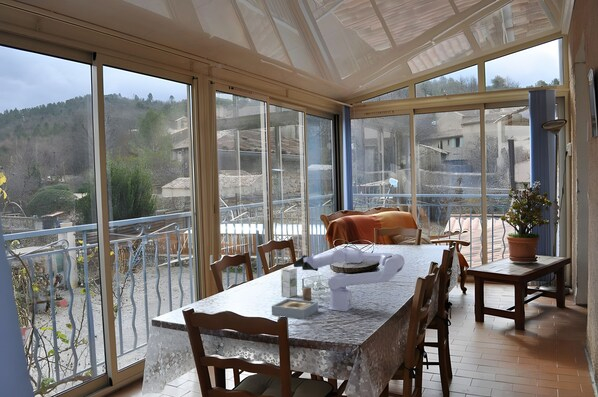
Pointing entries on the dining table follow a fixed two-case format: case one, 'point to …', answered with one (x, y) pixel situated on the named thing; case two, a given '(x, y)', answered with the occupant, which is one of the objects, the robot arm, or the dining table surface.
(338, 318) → the dining table surface
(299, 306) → the bore plate
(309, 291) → the peg
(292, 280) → the syrup box
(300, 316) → the open box
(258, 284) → the dining table surface
